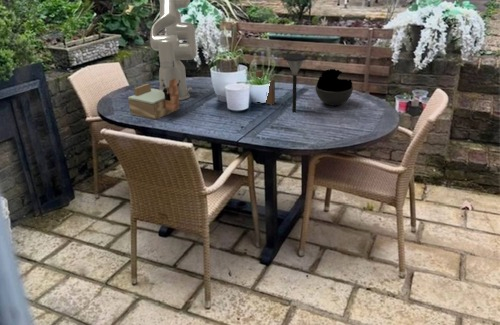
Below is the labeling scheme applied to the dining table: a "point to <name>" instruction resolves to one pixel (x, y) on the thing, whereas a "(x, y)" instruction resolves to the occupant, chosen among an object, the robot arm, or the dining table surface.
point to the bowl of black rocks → (333, 88)
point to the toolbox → (149, 109)
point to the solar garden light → (294, 72)
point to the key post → (172, 96)
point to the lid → (147, 94)
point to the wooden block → (271, 88)
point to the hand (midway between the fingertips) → (171, 98)
